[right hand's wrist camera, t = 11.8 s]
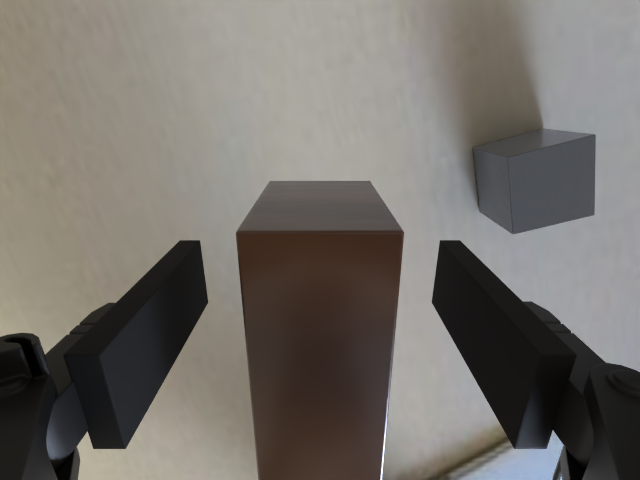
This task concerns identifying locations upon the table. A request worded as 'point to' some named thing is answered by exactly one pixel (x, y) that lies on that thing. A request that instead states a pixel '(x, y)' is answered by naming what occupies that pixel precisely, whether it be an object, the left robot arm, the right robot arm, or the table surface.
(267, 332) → the walnut bar
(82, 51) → the table surface
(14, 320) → the table surface
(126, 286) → the table surface
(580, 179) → the slate cube
